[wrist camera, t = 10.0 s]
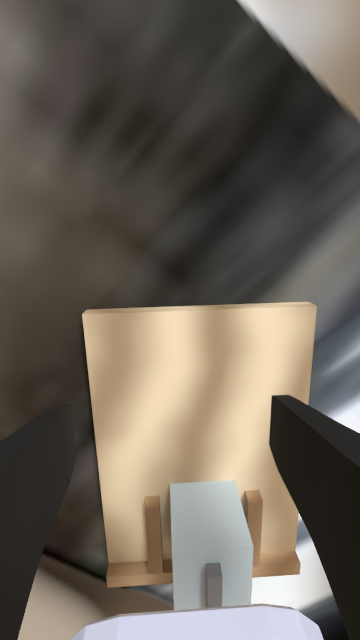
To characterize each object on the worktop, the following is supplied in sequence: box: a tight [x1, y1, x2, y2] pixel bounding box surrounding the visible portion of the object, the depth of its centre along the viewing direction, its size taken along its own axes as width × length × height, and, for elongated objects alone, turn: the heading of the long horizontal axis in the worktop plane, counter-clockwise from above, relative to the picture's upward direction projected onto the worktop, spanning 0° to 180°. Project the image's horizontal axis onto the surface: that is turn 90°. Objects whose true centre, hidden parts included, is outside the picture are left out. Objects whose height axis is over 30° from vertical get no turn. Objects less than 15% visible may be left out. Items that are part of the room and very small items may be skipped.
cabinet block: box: [170, 480, 254, 610], centre depth 21 cm, size 4×5×6 cm
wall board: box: [82, 302, 317, 588], centre depth 23 cm, size 14×20×2 cm
